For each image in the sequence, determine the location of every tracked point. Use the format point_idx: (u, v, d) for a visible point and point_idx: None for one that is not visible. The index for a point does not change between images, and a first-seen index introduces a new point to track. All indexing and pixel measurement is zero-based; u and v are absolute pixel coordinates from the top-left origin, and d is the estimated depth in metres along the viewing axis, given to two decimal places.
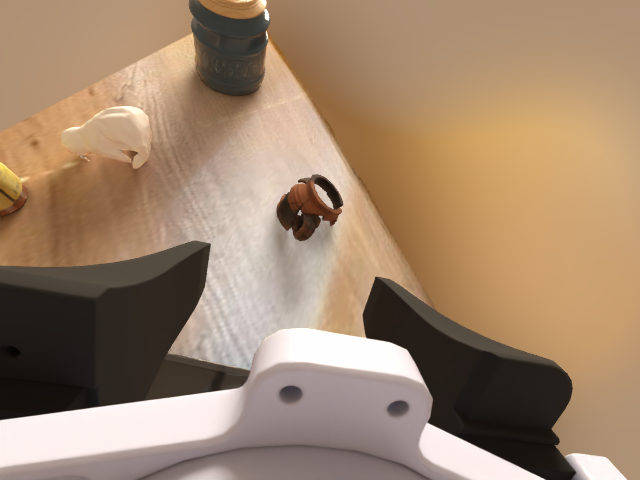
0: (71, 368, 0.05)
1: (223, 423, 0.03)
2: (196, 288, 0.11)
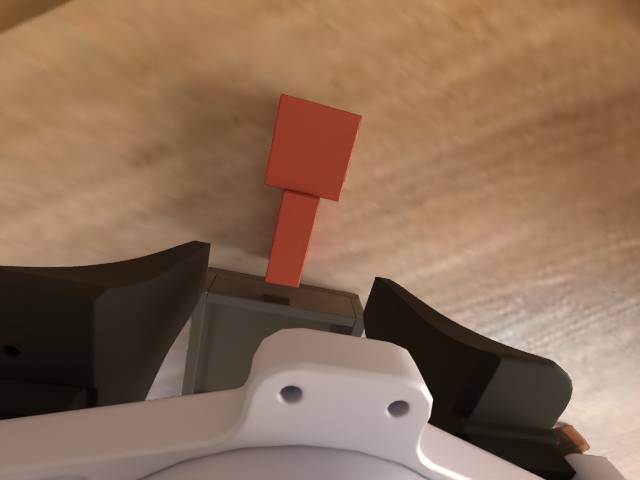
0: (71, 368, 0.05)
1: (223, 423, 0.03)
2: (196, 288, 0.11)
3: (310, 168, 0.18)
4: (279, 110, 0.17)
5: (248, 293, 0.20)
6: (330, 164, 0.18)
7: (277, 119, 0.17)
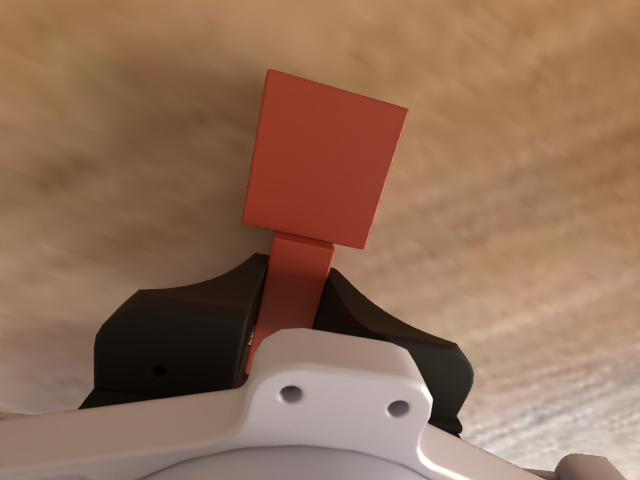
0: (211, 386, 0.06)
1: (223, 423, 0.03)
2: None
3: (317, 197, 0.10)
4: (264, 99, 0.09)
5: None
6: (352, 191, 0.11)
7: (261, 115, 0.09)
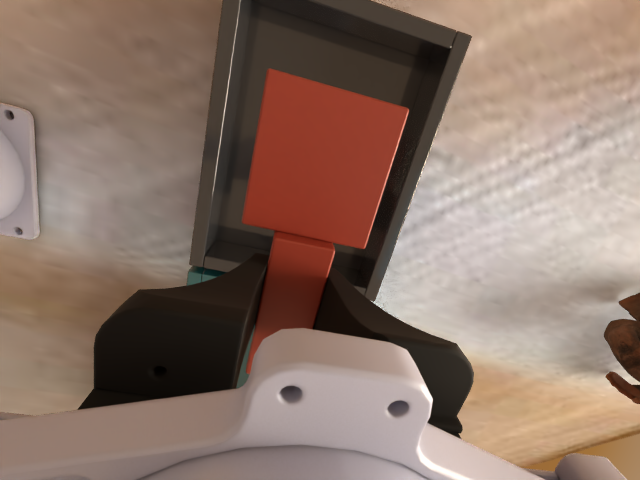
0: (211, 386, 0.06)
1: (223, 423, 0.03)
2: None
3: (317, 197, 0.10)
4: (264, 98, 0.09)
5: None
6: (352, 190, 0.10)
7: (261, 114, 0.09)
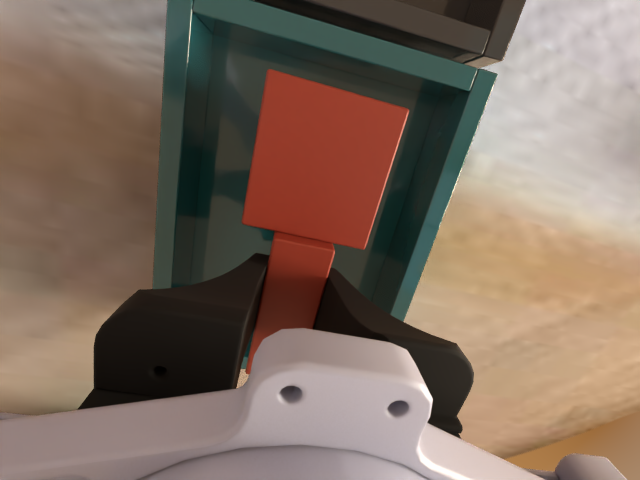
0: (211, 386, 0.06)
1: (223, 423, 0.03)
2: None
3: (317, 197, 0.10)
4: (264, 99, 0.09)
5: None
6: (352, 191, 0.10)
7: (261, 115, 0.09)
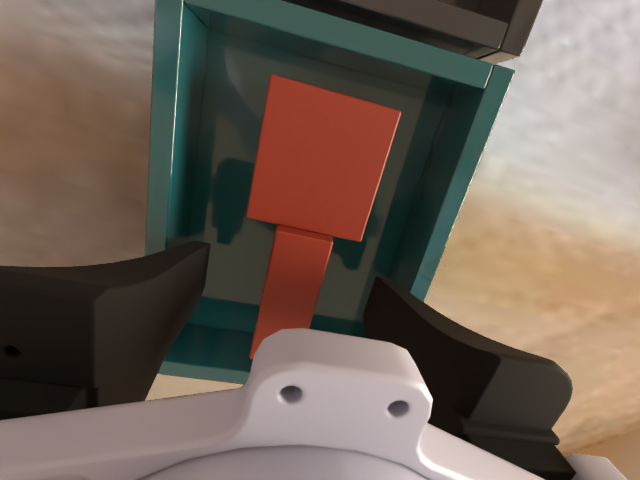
0: (71, 368, 0.05)
1: (223, 423, 0.03)
2: (196, 288, 0.11)
3: (317, 193, 0.11)
4: (268, 101, 0.10)
5: None
6: (349, 187, 0.11)
7: (265, 116, 0.10)
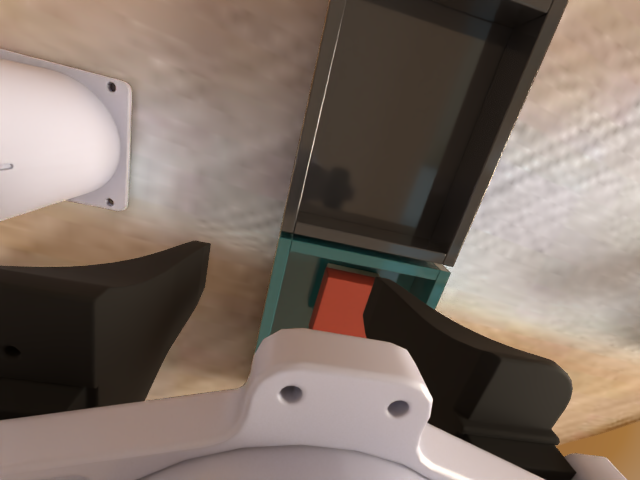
0: (71, 368, 0.05)
1: (223, 423, 0.03)
2: (196, 288, 0.11)
3: (347, 326, 0.21)
4: (325, 288, 0.20)
5: None
6: None
7: (323, 294, 0.20)
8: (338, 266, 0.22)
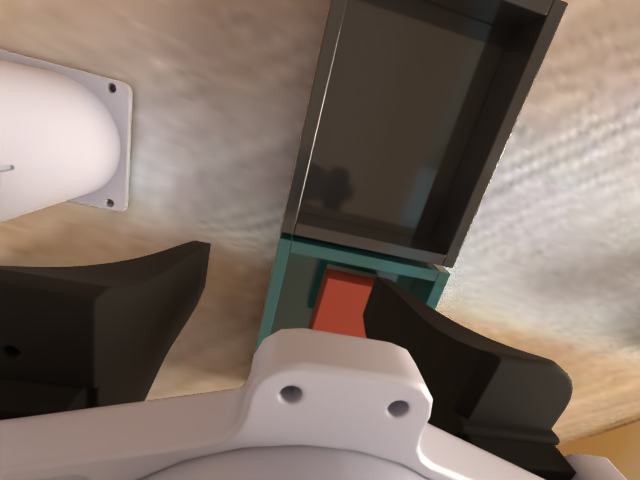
0: (71, 368, 0.05)
1: (223, 423, 0.03)
2: (196, 288, 0.11)
3: (347, 327, 0.21)
4: (325, 289, 0.20)
5: None
6: None
7: (323, 295, 0.20)
8: (338, 267, 0.22)
